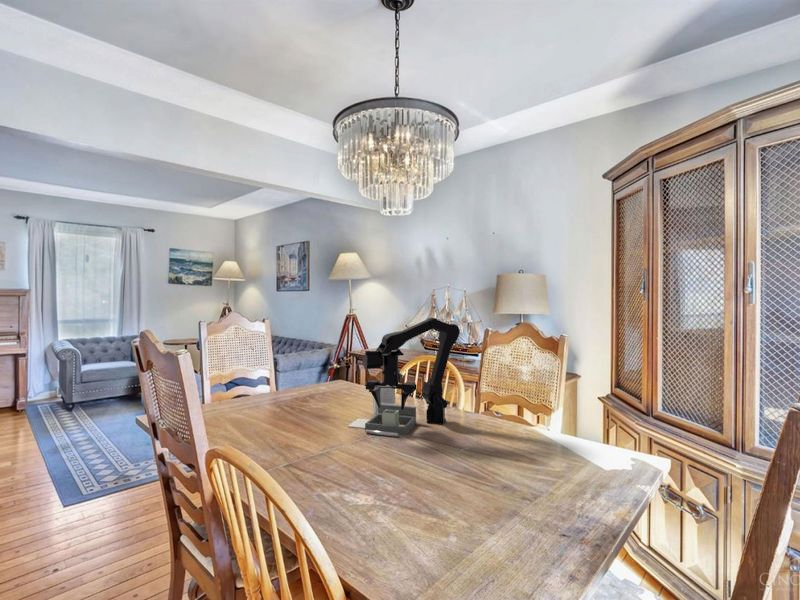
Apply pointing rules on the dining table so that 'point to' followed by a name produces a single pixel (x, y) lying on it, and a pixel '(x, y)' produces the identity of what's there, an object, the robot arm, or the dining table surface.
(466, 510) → the dining table surface
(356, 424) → the pad
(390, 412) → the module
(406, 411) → the case lid open
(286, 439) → the dining table surface
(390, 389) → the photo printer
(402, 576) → the dining table surface
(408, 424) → the case base
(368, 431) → the rod
